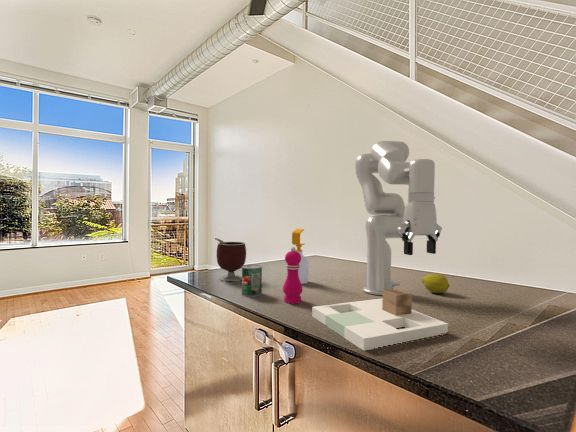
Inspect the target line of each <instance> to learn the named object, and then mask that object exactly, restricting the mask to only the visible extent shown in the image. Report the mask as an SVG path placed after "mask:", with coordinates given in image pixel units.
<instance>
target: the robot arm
mask: <svg viewBox="0 0 576 432" xmlns="http://www.w3.org/2000/svg"><path fill="white" fill-rule="evenodd" d="M409 155H410V147H409V146H408V143H406V142H404V141H400V140H399V141H398V140H397V141H395V140H380V141H378V142H375V143H374V144H373V146H371V153H370V152H369V153H362V154H360V155H358V157H356V159H355V165H354V166H355V167H354V168H355V175H356V178H357V180H358V183H359V185H360V187H361V189H362V195H363V200H364V201H363V202H364V207H365V210H366V212H367V214H369V215H371V216H369V217H368V218H367V219H366V220H365V232H366V234H365V235H366V240H367V241H366V242H367V243H366V244H367V260H366V265H367V267H366V285H364V286H363V288H362V291H363V292H364V293H366V294H370V295H376V296H383V291H384V290H393V289H394V287H400V284H401V283H400V281H398V280H397V281H394V280H391V279H392V248H391V246H390V244H389V243H388V241H387V239H401V241H402V242H403V254H404V255H408V256H412V255H413V252H414V242H412V240H413V239H414V237H415V236H426V238H427V240H426V253H427V254H432V255H434V254H435V255H436V254H437V242H438V238H439V237H441V236H440V235H441V232H442V230H443V228H442V226H441V225H439V224H438V222H437V220H438V219H437V210H436V209H437V208H436V204H435V199H436V197H435V176H436V173H435V171H436V170H435V169H436V163H435V161H434V160H432V159H429V158H418V159H413V160H411V161H409V162H408V161H407V160H408V158H409ZM374 174H378V175H379V177H380V178H381V179H382V180H383V181H384V182H385V184H388V185H389V184H390V185H401V186H403V185H405V186H406V185H407V186H408V191H407V192H408V195H407V196H408V198H407V200H408V201H407V202H408V203H405V201H404V199H403V197H402V196H401V195H400V194H398V193H394V192H391V193H390V192H385V191H384V190H383V185H382V182H381V180H379V178H378V177H376V176H375V175H374Z"/></svg>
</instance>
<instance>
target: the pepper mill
mask: <svg viewBox="0 0 576 432" xmlns="http://www.w3.org/2000/svg"><path fill="white" fill-rule="evenodd" d="M295 250H297V248H296V246H292V247H291V248H290V251H288V252H287V253H286V254H285V256H284V261H285V262H286V264H285V265H286V267H285V268H286V270H287V273H286V274H287V276H286V279H285V281H284V283H283V285H282V291H283V293H284V296H283V301H284V302H285V303H287V304H293V305H294V304H300V303H301V302H302V296H301V294H302V292H303V284H301V282H300V279H299V276H298V270H299V269H300V265H299V263H300V261H301V255H300V253H298V252H296V251H295Z"/></svg>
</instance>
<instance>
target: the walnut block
mask: <svg viewBox="0 0 576 432" xmlns="http://www.w3.org/2000/svg"><path fill="white" fill-rule="evenodd" d="M412 297H413V294H412V292H408V291H405V290H402V289H400V288H393V290H384V291H383V295H382V298H383V300H382V310H384V311H386V312H388V313H391V314H393V315H395V316H398V315H404V314H411V312H412V310H413V308H412V302H413V298H412Z"/></svg>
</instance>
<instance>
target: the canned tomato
mask: <svg viewBox="0 0 576 432" xmlns="http://www.w3.org/2000/svg"><path fill="white" fill-rule="evenodd" d="M241 276H242V281H241V295H242V296H243V297H249V296H250V297H259V296H261V295H263V292H262V290H263V285H262V283H263V282H262V281H263V279H262V278H263V277H262V276H263V266H262V265H259V264H244V265H243V266H242V268H241Z"/></svg>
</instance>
